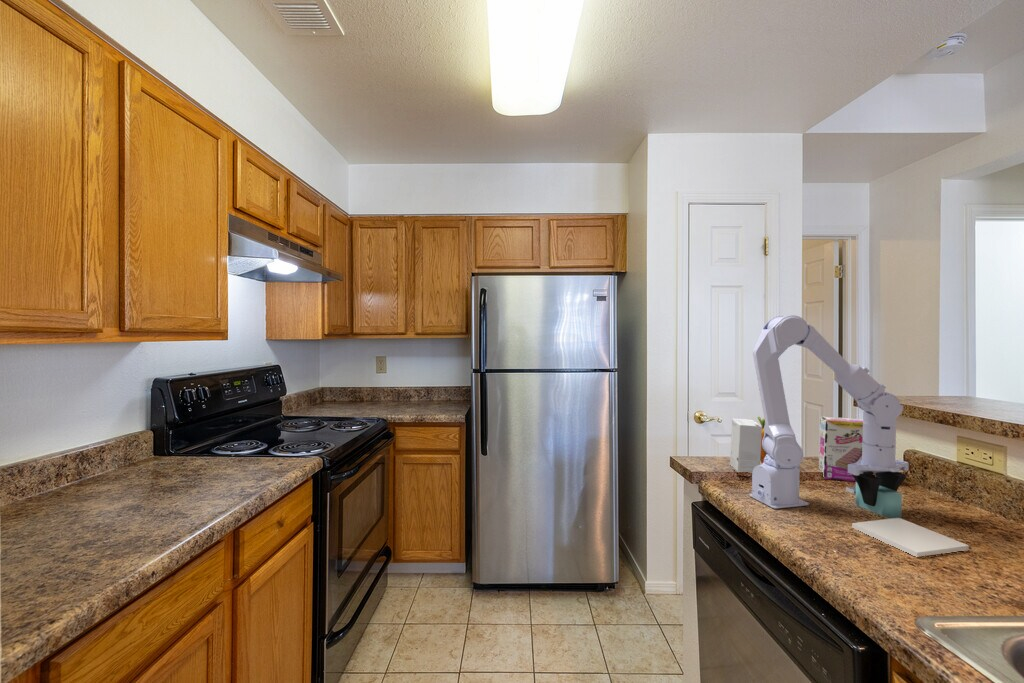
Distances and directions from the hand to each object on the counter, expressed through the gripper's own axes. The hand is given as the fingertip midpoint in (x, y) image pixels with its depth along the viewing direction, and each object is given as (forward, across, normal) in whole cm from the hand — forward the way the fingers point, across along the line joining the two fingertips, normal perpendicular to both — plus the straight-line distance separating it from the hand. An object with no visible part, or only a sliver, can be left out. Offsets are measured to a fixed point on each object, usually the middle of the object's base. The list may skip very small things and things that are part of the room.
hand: (877, 503), depth 98 cm
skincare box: (+2, -11, +28) cm, 30 cm away
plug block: (+1, 0, 0) cm, 1 cm away
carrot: (+2, -1, +32) cm, 32 cm away
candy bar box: (+2, +12, +18) cm, 22 cm away
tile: (+1, -8, -12) cm, 14 cm away
